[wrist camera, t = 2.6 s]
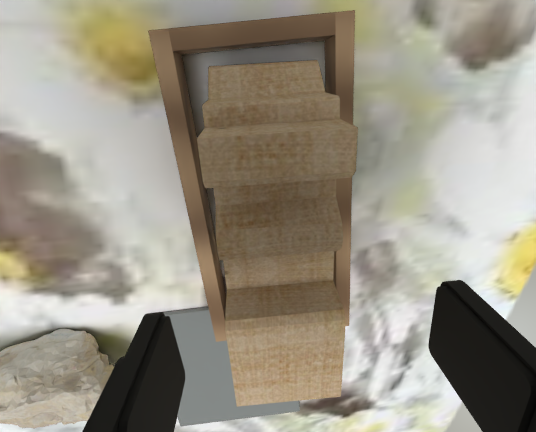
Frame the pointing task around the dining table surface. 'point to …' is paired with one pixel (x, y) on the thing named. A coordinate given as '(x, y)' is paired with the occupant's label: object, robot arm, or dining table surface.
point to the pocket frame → (185, 140)
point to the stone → (52, 379)
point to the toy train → (278, 225)
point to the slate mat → (210, 374)
